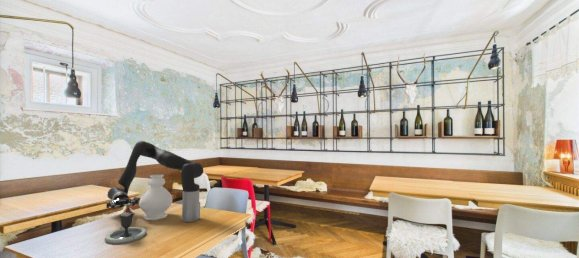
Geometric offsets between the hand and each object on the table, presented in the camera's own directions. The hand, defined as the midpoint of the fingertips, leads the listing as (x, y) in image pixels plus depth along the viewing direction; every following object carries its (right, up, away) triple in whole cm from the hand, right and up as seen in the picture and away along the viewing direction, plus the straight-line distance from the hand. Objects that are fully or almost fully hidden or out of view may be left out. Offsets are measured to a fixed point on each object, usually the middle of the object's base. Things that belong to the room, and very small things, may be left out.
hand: (123, 205), depth 130 cm
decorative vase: (+6, -13, +20) cm, 24 cm away
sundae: (+8, -12, -10) cm, 17 cm away
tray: (+8, -12, -10) cm, 18 cm away
